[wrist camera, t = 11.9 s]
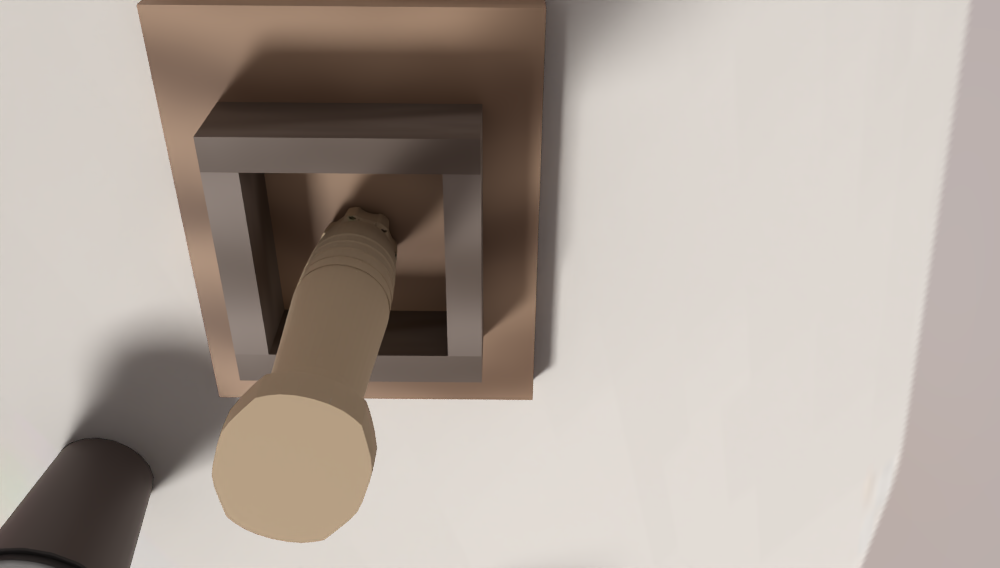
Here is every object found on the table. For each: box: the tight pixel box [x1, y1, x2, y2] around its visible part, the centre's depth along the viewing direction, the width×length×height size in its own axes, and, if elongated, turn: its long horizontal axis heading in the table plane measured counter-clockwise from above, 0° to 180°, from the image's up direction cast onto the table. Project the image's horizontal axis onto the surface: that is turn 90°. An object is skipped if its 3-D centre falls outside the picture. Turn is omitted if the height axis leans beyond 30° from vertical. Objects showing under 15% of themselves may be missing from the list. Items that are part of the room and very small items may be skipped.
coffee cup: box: [0, 438, 153, 568], centre depth 48 cm, size 8×8×10 cm
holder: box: [137, 0, 546, 400], centre depth 40 cm, size 20×16×5 cm
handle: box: [212, 207, 397, 543], centre depth 35 cm, size 5×6×15 cm
